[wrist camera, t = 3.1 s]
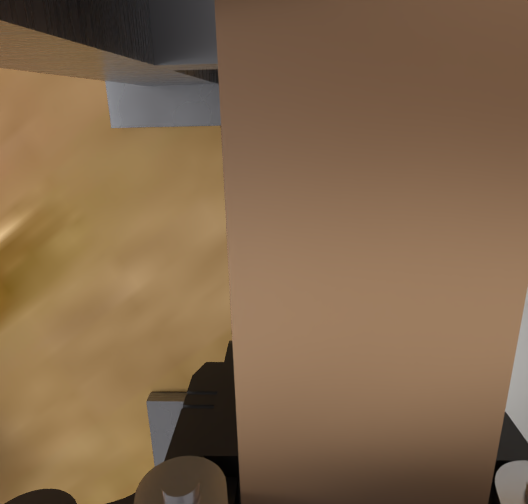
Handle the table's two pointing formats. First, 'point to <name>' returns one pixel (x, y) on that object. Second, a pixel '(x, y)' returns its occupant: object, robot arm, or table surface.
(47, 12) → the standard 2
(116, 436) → the table surface
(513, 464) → the robot arm
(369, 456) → the rail
